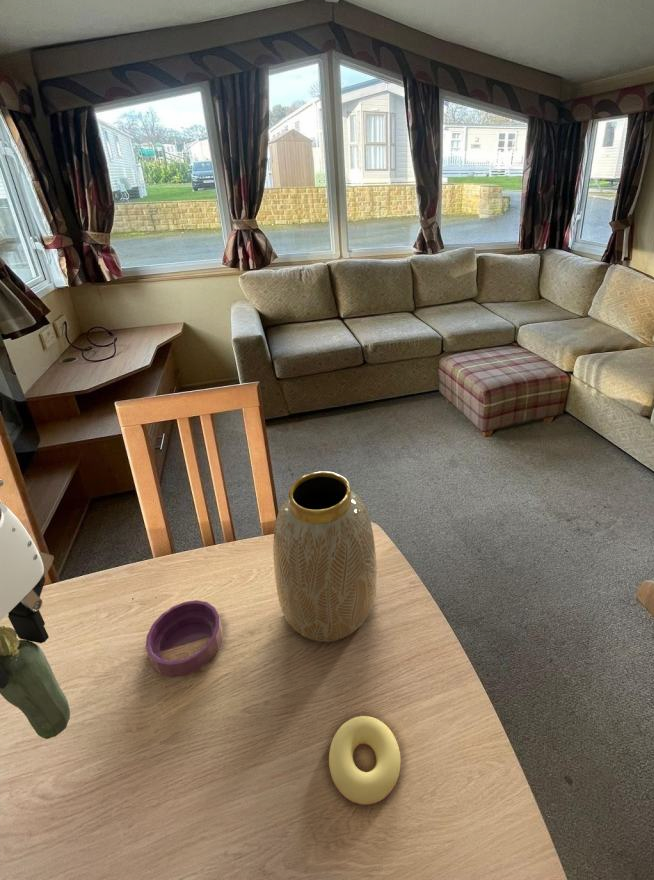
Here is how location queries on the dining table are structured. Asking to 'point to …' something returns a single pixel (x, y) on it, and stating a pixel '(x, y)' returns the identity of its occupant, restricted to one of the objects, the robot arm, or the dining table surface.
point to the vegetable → (32, 685)
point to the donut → (345, 772)
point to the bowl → (184, 637)
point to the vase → (324, 558)
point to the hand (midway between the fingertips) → (14, 658)
